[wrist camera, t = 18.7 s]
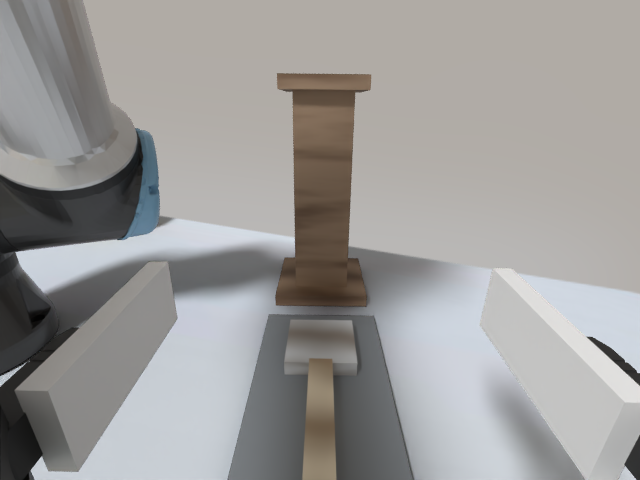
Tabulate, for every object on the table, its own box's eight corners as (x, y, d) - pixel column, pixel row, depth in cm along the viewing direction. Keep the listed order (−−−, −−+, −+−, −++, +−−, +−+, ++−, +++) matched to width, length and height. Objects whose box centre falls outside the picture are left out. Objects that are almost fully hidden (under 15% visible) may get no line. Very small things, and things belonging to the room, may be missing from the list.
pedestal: (366, 306, 46) (382, 73, 36) (275, 305, 46) (266, 72, 36) (357, 266, 57) (368, 80, 47) (284, 265, 57) (279, 79, 47)
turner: (382, 591, 19) (385, 570, 18) (253, 589, 19) (251, 567, 18) (351, 331, 40) (352, 316, 39) (290, 330, 40) (290, 315, 39)
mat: (442, 617, 18) (444, 612, 18) (196, 614, 18) (195, 608, 18) (373, 319, 43) (373, 315, 43) (269, 318, 43) (268, 314, 43)
